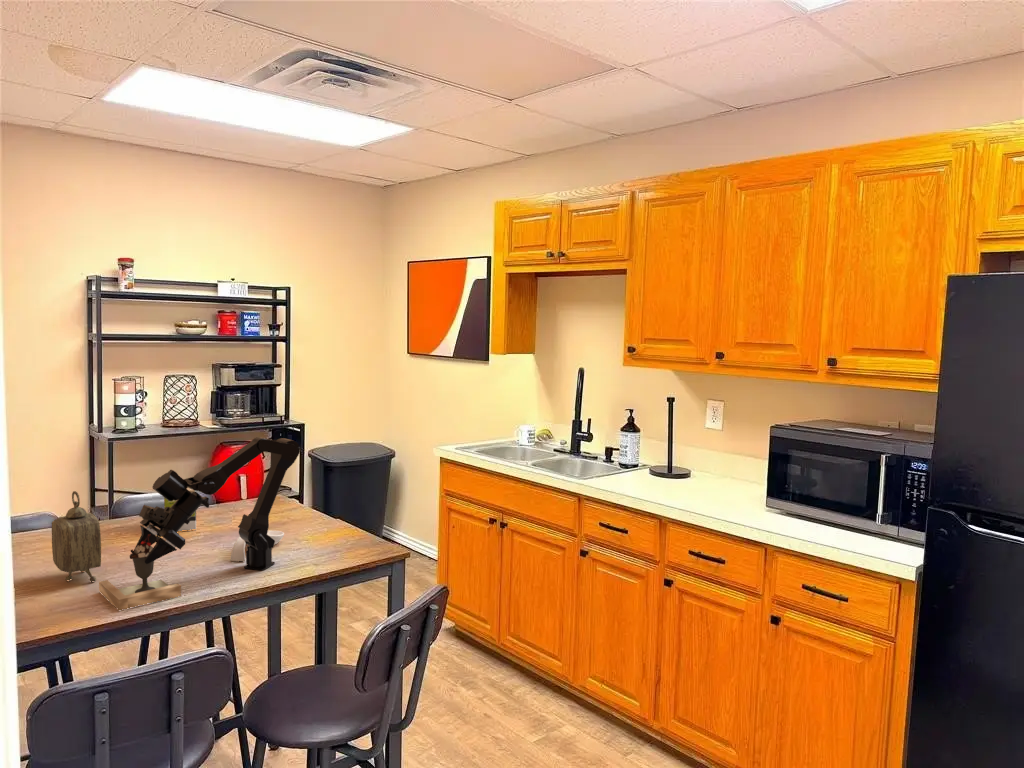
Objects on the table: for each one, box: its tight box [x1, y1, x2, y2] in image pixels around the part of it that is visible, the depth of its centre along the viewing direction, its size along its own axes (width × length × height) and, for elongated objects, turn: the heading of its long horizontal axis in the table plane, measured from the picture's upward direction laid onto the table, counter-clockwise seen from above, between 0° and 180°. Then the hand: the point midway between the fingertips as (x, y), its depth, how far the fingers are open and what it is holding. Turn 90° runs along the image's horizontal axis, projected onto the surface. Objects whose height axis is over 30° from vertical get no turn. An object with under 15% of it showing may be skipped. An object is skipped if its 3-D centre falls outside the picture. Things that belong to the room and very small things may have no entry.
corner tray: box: [98, 579, 182, 611], centre depth 192 cm, size 15×17×3 cm
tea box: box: [163, 488, 197, 531], centre depth 255 cm, size 15×10×15 cm
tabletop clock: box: [51, 490, 102, 583], centre depth 202 cm, size 14×9×25 cm, turn 43°
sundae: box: [129, 534, 155, 593], centre depth 193 cm, size 7×7×15 cm
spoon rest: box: [229, 530, 285, 562], centre depth 231 cm, size 24×12×7 cm, turn 172°
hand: (139, 558), depth 192 cm, fingers open, 9 cm apart
